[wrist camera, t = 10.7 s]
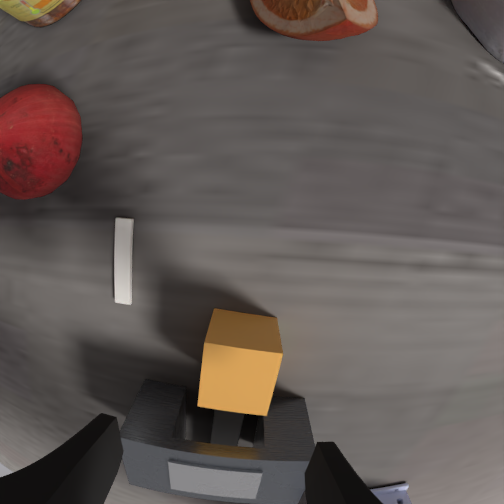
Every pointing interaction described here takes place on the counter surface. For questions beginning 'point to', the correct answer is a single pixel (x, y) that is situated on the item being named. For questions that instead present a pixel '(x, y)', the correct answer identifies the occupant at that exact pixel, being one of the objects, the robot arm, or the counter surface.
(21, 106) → the red rounded lump
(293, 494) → the housing
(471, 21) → the pillar candle
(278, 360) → the orange and grey bar
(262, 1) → the fruit slice
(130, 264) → the white slender bar
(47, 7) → the sauce bottle
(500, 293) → the counter surface
